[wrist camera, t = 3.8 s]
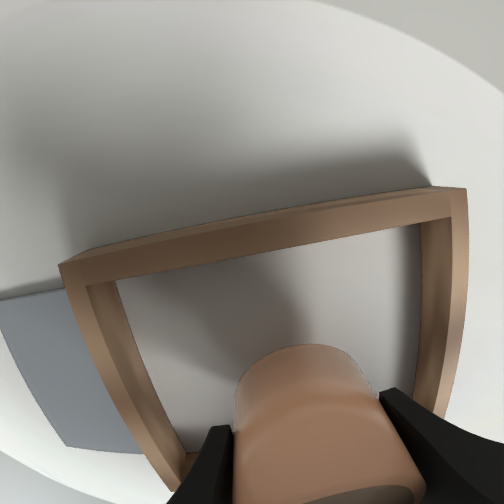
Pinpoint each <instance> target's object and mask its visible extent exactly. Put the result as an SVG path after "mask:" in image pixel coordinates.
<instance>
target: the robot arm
mask: <svg viewBox="0 0 504 504" xmlns="http://www.w3.org/2000/svg"><path fill="white" fill-rule="evenodd" d="M379 402H380V403H381V405H382V407H383V408H384V410H385V412H386V413H387V415H388V417H389V419H390V420H391V422H392V424H393V426H394V427H395V429H396V431H397V432H398V434H399V436H400V438H401V439H402V441H403V443H404V445H405V447H406V448H407V450H408V452H409V454H410V455H411V457H412V459H413V461H414V463H415V464H416V466H417V468H418V470H419V472H420V473H421V475H422V477H423V479H424V481H425V482H426V492H425V494H424V496H423V498H422V500H421V501H420V502H419V504H504V444H503V443H499V442H495V441H492V440H489V439H485V438H483V437H480V436H477V435H475V434H472V433H470V432H467V431H465V430H463V429H461V428H459V427H457V426H455V425H453V424H451V423H449V422H447V421H446V420H444V419H442V418H440V417H439V416H437V415H436V414H434V413H432V412H431V411H429V410H427V409H426V408H424V407H423V406H421V405H420V404H418V403H417V402H415V401H414V400H413V399H411V398H410V397H408V396H407V395H405V394H404V393H403V392H401V391H400V390H398V389H397V388H395V387H394V388H391V389H388V390H385V391H382V392H379ZM232 487H233V433H232V430H231V427H230V425H221V426H212V427H211V428H210V430H209V432H208V435H207V437H206V439H205V441H204V444H203V446H202V448H201V450H200V452H199V454H198V456H197V457H196V459H195V461H194V463H193V465H192V466H191V468H190V470H189V472H188V473H187V475H186V477H185V478H184V480H183V481H182V483H181V484H180V486H179V487H178V488H177V490H176V491H175V493H174V494H173V496H172V497H171V498H170V499H169V501H168V502H167V503H166V504H232Z"/></svg>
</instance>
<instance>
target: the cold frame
mask: <svg viewBox="0 0 504 504" xmlns="http://www.w3.org/2000/svg"><path fill="white" fill-rule="evenodd" d="M415 223H420V230H421V250H422V306H421V326H420V340H419V351H418V360H417V369H416V377H415V384H414V391H413V397H412V399H413V400H414V401H415V402H417V403H418V404H420V405H421V406H423V407H424V408H426V409H427V410H429V411H431V412H432V413H434V414H436V415H437V416H439V417H440V418H442V419H444V417H445V413H446V410H447V406H448V403H449V399H450V395H451V391H452V387H453V383H454V378H455V374H456V369H457V364H458V359H459V353H460V348H461V342H462V335H463V328H464V320H465V312H466V301H467V289H468V271H469V220H468V202H467V190H466V188H455V187H441V186H429V187H421V188H414V189H406V190H399V191H392V192H385V193H378V194H372V195H365V196H358V197H352V198H346V199H339V200H333V201H327V202H321V203H315V204H309V205H303V206H297V207H292V208H286V209H280V210H275V211H269V212H264V213H258V214H253V215H248V216H243V217H237V218H232V219H227V220H222V221H217V222H212V223H207V224H202V225H197V226H192V227H187V228H183V229H178V230H173V231H169V232H164V233H159V234H155V235H150V236H146V237H141V238H137V239H132V240H128V241H124V242H119V243H115V244H111V245H106V246H102V247H98V248H94V249H90V250H86V251H84V252H82V253H80V254H78V255H76V256H74V257H72V258H70V259H68V260H66V261H64V262H62V263H60V264H58V267H59V270H60V274H61V277H62V280H63V284H64V287H65V290H66V293H67V296H68V299H69V302H70V305H71V308H72V310H73V313H74V316H75V319H76V321H77V324H78V326H79V329H80V332H81V334H82V337H83V339H84V341H85V344H86V346H87V349H88V351H89V353H90V355H91V358H92V360H93V362H94V364H95V367H96V369H97V371H98V373H99V375H100V377H101V379H102V381H103V383H104V385H105V387H106V389H107V391H108V393H109V395H110V397H111V399H112V401H113V403H114V405H115V406H116V408H117V410H118V412H119V414H120V415H121V417H122V419H123V421H124V422H125V424H126V426H127V428H128V429H129V431H130V433H131V434H132V436H133V438H134V439H135V441H136V442H137V444H138V446H139V447H140V449H141V450H142V452H143V453H144V455H145V456H146V458H147V459H148V461H149V462H150V464H151V465H152V467H153V468H154V469H155V471H156V472H157V474H158V475H159V476H160V478H161V479H162V481H163V482H164V483H165V485H166V486H167V487H168V489H169V490H170V491H171V492H175V491H176V490H177V488H178V487H179V486H180V484H181V483H182V481H183V480H184V478H185V477H186V475H187V473H188V472H189V470H190V468H191V466H192V465H193V463H194V461H195V459H196V457H197V456H198V454H199V453H186V452H185V450H184V448H183V447H182V445H181V443H180V441H179V439H178V437H177V435H176V433H175V431H174V429H173V427H172V425H171V423H170V421H169V419H168V417H167V415H166V413H165V411H164V409H163V407H162V405H161V403H160V400H159V398H158V396H157V394H156V392H155V389H154V387H153V385H152V383H151V380H150V378H149V375H148V373H147V371H146V368H145V366H144V363H143V361H142V358H141V356H140V353H139V351H138V348H137V346H136V343H135V340H134V338H133V335H132V332H131V329H130V327H129V324H128V321H127V318H126V315H125V312H124V309H123V306H122V303H121V300H120V297H119V294H118V290H117V287H116V284H115V280H120V279H125V278H131V277H136V276H141V275H147V274H152V273H157V272H163V271H168V270H173V269H179V268H184V267H189V266H195V265H200V264H205V263H211V262H216V261H221V260H227V259H232V258H237V257H243V256H248V255H253V254H258V253H264V252H269V251H274V250H279V249H285V248H290V247H295V246H301V245H306V244H311V243H316V242H322V241H327V240H332V239H337V238H342V237H348V236H353V235H358V234H363V233H369V232H374V231H379V230H384V229H389V228H395V227H400V226H405V225H410V224H415Z"/></svg>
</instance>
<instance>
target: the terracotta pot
mask: <svg viewBox="0 0 504 504" xmlns="http://www.w3.org/2000/svg"><path fill="white" fill-rule="evenodd" d="M425 492H426V482H425V481H424V479H423V477H422V475H421V473H420V472H419V470H418V468H417V466H416V464H415V463H414V461H413V459H412V457H411V455H410V454H409V452H408V450H407V448H406V447H405V445H404V443H403V441H402V439H401V438H400V436H399V434H398V432H397V431H396V429H395V427H394V426H393V424H392V422H391V420H390V419H389V417H388V415H387V413H386V412H385V410H384V408H383V407H382V405H381V403H380V402H379V400H378V398H377V396H376V395H375V393H374V391H373V390H372V388H371V386H370V385H369V383H368V381H367V380H366V378H365V376H364V375H363V373H362V371H361V370H360V368H359V366H358V365H357V364H356V362H355V361H354V360H353V359H352V358H351V357H350V356H349V355H348V354H346V353H345V352H343V351H341V350H339V349H337V348H334V347H331V346H326V345H321V344H301V345H295V346H290V347H286V348H283V349H280V350H277V351H275V352H272V353H270V354H268V355H266V356H265V357H263V358H262V359H260V360H258V361H257V362H256V363H255V364H253V365H252V366H251V367H250V368H249V369H248V370H247V371H246V372H245V373H244V375H243V376H242V378H241V379H240V381H239V383H238V385H237V388H236V391H235V396H234V431H233V487H232V504H419V502H420V501H421V500H422V498H423V496H424V494H425Z"/></svg>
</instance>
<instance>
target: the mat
mask: <svg viewBox="0 0 504 504" xmlns="http://www.w3.org/2000/svg"><path fill="white" fill-rule="evenodd" d="M0 329H1V332H2V334H3V337H4V339H5V341H6V343H7V346H8V348H9V350H10V352H11V354H12V357H13V359H14V361H15V363H16V365H17V367H18V369H19V371H20V373H21V375H22V377H23V378H24V380H25V382H26V384H27V386H28V388H29V389H30V391H31V393H32V395H33V396H34V398H35V400H36V402H37V403H38V405H39V406H40V408H41V410H42V411H43V413H44V415H45V416H46V418H47V419H48V421H49V422H50V424H51V425H52V427H53V428H54V430H55V431H56V433H57V434H58V435H59V437H60V438H61V440H62V441H63V442H64V444H65V445H66V446H68V447H74V448H81V449H88V450H96V451H105V452H116V453H130V454H144V453H143V452H142V450H141V449H140V447H139V446H138V444H137V442H136V441H135V439H134V438H133V436H132V434H131V433H130V431H129V429H128V428H127V426H126V424H125V422H124V421H123V419H122V417H121V415H120V414H119V412H118V410H117V408H116V406H115V405H114V403H113V401H112V399H111V397H110V395H109V393H108V391H107V389H106V387H105V385H104V383H103V381H102V379H101V377H100V375H99V373H98V371H97V369H96V367H95V364H94V362H93V360H92V358H91V355H90V353H89V351H88V349H87V346H86V344H85V341H84V339H83V337H82V334H81V332H80V329H79V326H78V324H77V321H76V319H75V316H74V313H73V310H72V308H71V305H70V302H69V299H68V296H67V293H66V290H65V288H61V289H56V290H51V291H45V292H40V293H35V294H29V295H24V296H19V297H13V298H8V299H3V300H0Z"/></svg>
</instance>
